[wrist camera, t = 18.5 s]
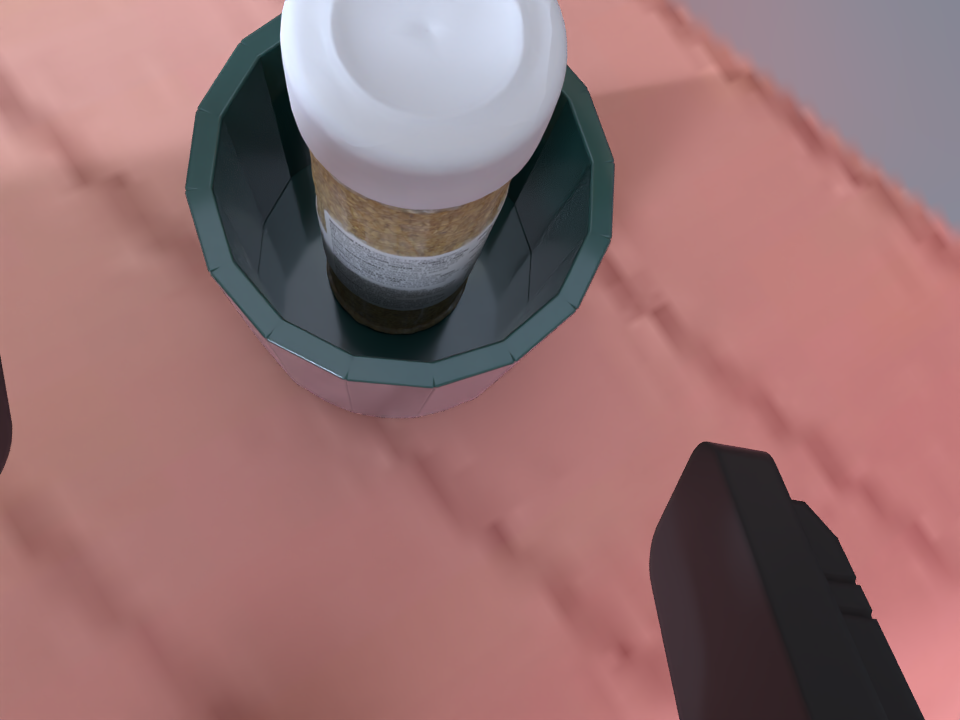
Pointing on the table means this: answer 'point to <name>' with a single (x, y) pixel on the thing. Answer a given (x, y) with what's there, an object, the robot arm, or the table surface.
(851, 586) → the robot arm
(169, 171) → the table surface
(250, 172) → the cup
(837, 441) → the table surface
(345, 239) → the sprinkles bottle
